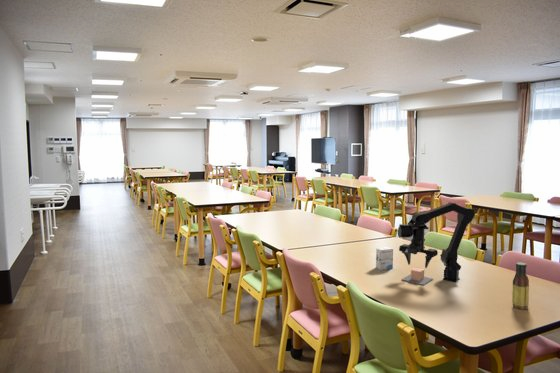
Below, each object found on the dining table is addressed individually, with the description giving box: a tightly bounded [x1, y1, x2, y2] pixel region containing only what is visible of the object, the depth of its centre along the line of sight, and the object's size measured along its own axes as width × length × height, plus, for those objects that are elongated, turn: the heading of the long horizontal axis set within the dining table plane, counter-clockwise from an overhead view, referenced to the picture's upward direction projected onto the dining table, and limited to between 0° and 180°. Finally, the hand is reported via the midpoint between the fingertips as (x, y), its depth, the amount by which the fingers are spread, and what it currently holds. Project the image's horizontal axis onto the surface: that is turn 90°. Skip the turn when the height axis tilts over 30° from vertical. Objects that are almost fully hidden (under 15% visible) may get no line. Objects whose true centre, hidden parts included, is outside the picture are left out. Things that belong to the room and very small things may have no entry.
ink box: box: [375, 246, 394, 271], centre depth 237 cm, size 9×5×12 cm, turn 105°
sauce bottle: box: [511, 261, 530, 310], centre depth 179 cm, size 7×6×20 cm
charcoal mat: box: [401, 273, 434, 286], centre depth 217 cm, size 12×12×1 cm
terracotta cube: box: [410, 267, 425, 281], centre depth 217 cm, size 5×5×5 cm
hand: (417, 266), depth 216 cm, fingers open, 9 cm apart
